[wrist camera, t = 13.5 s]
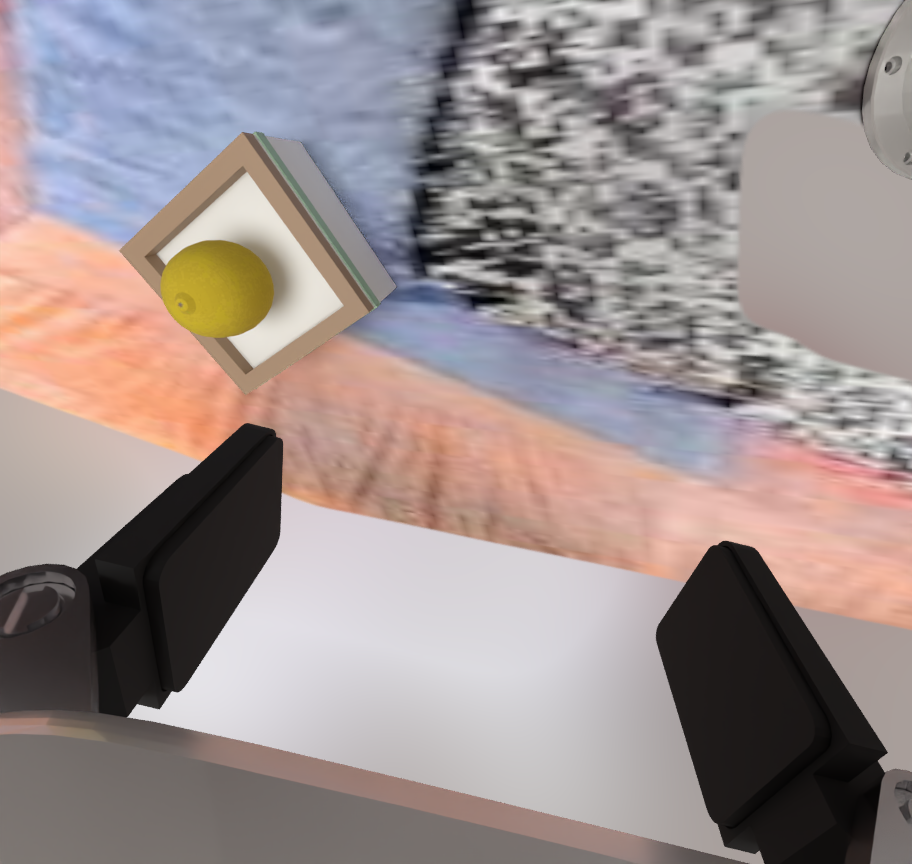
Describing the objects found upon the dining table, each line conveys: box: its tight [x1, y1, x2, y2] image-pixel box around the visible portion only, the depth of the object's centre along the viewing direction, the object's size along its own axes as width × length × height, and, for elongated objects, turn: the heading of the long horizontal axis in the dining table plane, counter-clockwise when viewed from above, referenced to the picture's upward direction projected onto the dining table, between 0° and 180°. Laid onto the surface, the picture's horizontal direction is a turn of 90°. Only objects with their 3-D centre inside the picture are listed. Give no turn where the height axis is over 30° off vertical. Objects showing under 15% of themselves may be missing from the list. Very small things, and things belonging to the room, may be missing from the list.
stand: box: [119, 132, 397, 395], centre depth 34 cm, size 12×12×8 cm
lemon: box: [160, 240, 274, 338], centre depth 28 cm, size 6×6×8 cm
